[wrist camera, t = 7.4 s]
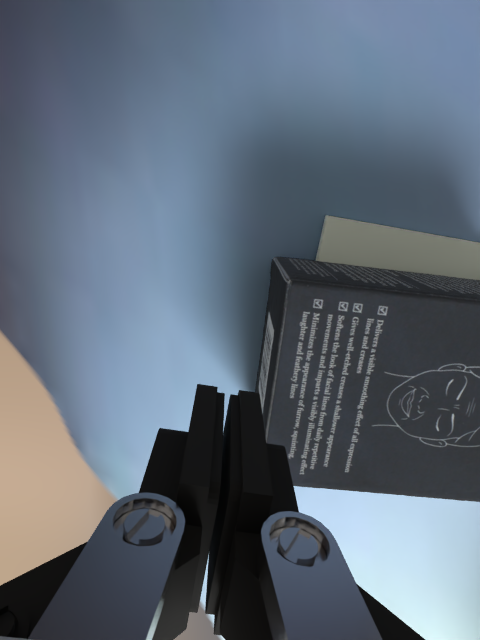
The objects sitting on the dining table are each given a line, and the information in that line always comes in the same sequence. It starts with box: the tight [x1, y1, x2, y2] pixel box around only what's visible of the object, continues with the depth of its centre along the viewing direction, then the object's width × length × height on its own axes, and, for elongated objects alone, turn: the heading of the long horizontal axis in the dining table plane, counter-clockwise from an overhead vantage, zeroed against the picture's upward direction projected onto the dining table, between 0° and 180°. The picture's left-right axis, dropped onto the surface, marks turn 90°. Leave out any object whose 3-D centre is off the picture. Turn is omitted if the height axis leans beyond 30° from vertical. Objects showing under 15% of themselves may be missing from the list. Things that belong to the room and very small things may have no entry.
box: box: [255, 257, 480, 502], centre depth 17 cm, size 8×6×11 cm
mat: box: [315, 215, 480, 280], centre depth 20 cm, size 12×12×1 cm
